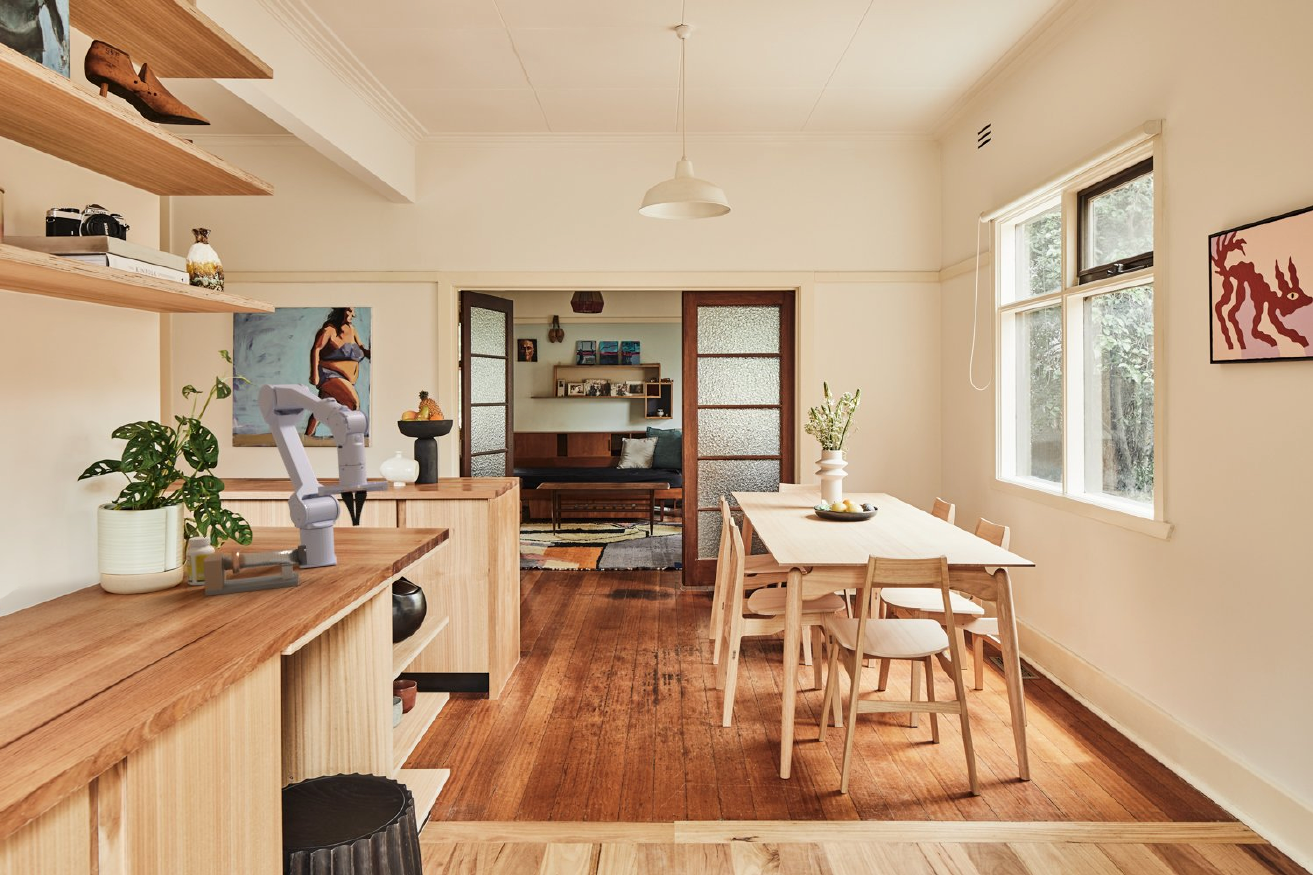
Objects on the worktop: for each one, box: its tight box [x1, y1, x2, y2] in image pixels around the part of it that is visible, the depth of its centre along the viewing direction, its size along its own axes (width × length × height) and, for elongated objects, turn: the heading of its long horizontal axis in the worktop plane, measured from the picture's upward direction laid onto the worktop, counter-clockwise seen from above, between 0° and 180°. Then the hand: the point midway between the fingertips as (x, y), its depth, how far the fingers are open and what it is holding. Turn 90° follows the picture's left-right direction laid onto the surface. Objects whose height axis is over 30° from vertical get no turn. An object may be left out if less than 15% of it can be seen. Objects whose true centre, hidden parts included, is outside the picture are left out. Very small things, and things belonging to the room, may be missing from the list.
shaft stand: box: [203, 552, 300, 597], centre depth 166 cm, size 8×17×7 cm, turn 113°
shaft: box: [223, 544, 307, 575], centre depth 167 cm, size 5×16×5 cm, turn 113°
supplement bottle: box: [185, 535, 216, 586], centre depth 170 cm, size 5×5×10 cm
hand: (355, 525), depth 177 cm, fingers closed
